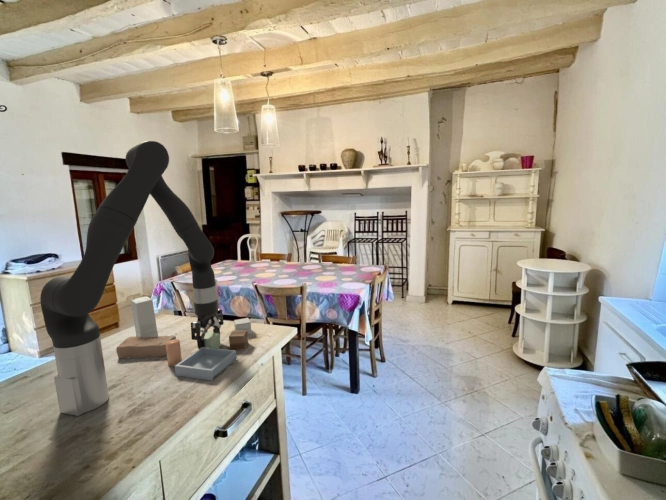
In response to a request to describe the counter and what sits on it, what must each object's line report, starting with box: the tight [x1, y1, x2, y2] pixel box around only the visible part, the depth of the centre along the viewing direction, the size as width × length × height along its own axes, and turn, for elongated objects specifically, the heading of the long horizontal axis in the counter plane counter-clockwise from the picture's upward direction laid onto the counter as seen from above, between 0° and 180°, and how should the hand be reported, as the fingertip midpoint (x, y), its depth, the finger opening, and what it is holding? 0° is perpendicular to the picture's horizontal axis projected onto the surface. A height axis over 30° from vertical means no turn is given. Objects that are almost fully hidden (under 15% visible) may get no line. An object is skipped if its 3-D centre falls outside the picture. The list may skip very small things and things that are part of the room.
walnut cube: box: [228, 329, 249, 351], centre depth 114 cm, size 5×5×5 cm
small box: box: [233, 317, 252, 335], centre depth 126 cm, size 6×6×5 cm
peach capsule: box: [166, 338, 183, 367], centre depth 103 cm, size 4×4×7 cm
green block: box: [204, 331, 221, 349], centre depth 113 cm, size 5×5×5 cm
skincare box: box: [130, 295, 159, 337], centre depth 124 cm, size 8×6×15 cm
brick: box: [116, 335, 177, 359], centre depth 112 cm, size 17×8×5 cm, turn 95°
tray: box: [174, 347, 237, 381], centre depth 100 cm, size 13×13×3 cm
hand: (209, 343), depth 113 cm, fingers open, 8 cm apart
